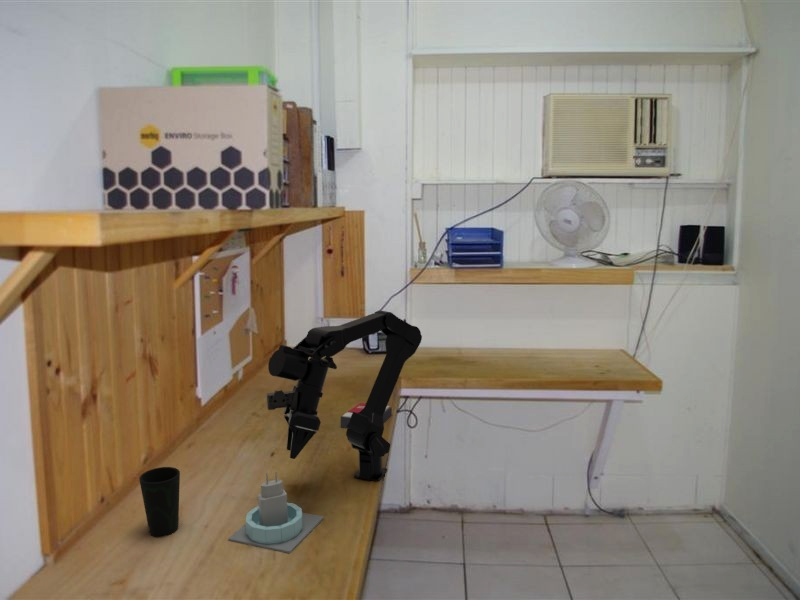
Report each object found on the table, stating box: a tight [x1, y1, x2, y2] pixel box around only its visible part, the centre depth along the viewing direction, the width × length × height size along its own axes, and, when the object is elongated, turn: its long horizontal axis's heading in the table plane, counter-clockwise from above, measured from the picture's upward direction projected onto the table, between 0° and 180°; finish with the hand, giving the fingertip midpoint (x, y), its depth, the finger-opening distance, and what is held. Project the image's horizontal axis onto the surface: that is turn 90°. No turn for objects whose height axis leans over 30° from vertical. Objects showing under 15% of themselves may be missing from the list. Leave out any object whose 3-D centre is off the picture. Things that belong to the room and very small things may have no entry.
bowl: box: [245, 501, 303, 544], centre depth 126 cm, size 11×11×3 cm
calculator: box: [340, 402, 393, 430], centre depth 189 cm, size 11×4×15 cm
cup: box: [139, 466, 181, 538], centre depth 126 cm, size 8×8×12 cm
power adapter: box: [257, 470, 288, 527], centre depth 125 cm, size 3×5×12 cm, turn 117°
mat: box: [228, 512, 325, 554], centre depth 127 cm, size 14×14×1 cm
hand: (290, 454), depth 135 cm, fingers open, 9 cm apart
